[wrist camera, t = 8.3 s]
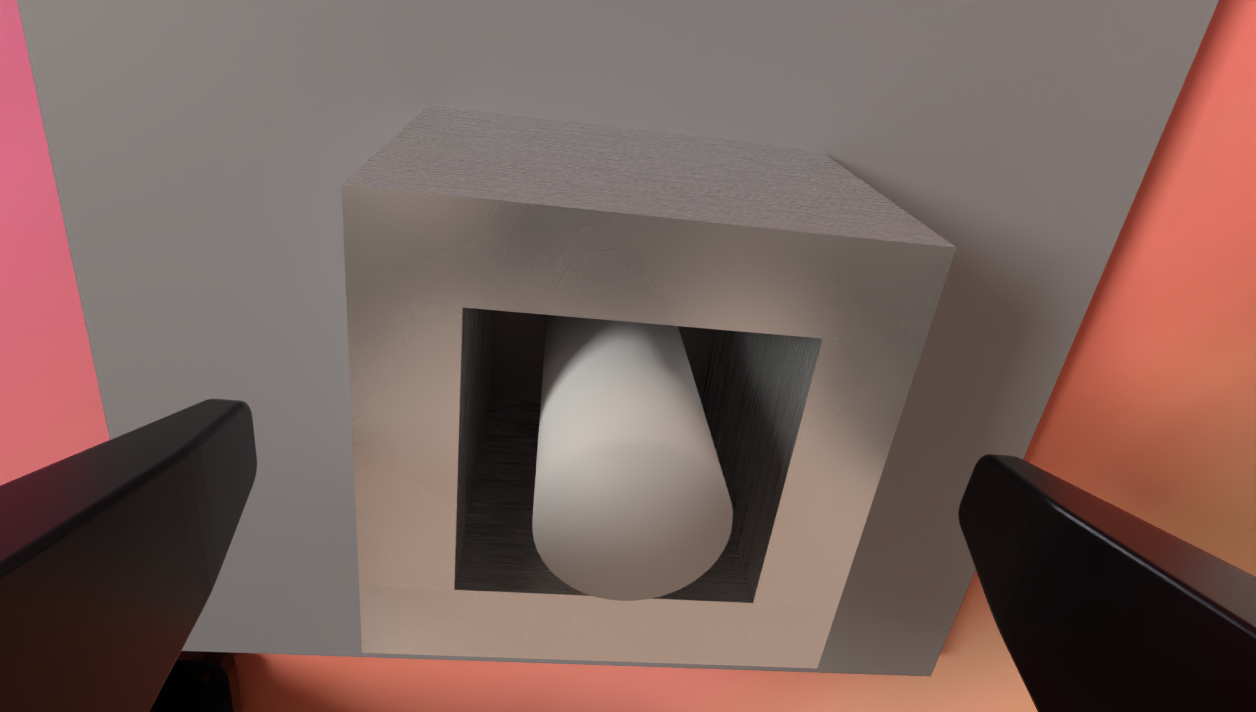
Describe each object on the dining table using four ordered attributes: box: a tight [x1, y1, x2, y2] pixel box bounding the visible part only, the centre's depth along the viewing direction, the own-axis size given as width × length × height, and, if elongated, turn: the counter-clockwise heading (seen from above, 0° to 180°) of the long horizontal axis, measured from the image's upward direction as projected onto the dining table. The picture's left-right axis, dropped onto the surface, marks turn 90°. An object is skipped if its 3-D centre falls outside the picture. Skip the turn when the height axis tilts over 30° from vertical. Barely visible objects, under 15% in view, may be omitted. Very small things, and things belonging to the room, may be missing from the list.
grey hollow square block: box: [341, 105, 956, 668], centre depth 11 cm, size 6×6×5 cm
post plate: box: [17, 0, 1219, 676], centre depth 11 cm, size 18×18×7 cm
